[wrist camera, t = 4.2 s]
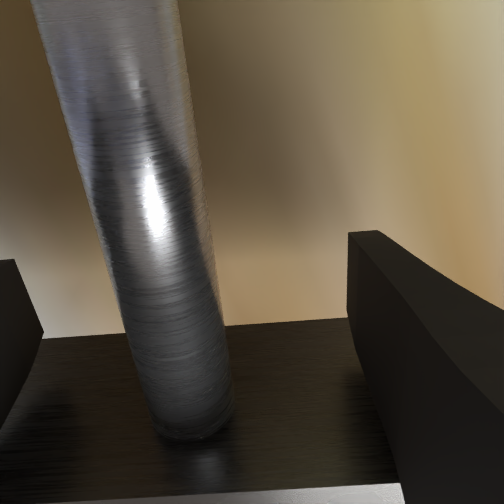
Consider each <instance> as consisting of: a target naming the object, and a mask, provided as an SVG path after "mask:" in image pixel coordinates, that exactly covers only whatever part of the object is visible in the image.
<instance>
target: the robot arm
mask: <svg viewBox="0 0 504 504" xmlns="http://www.w3.org/2000/svg"><path fill="white" fill-rule="evenodd" d="M347 314H348V319H349V324H350V329H351V333H352V338H353V342H354V346H355V350H356V353H357V356H358V359H359V362H360V364H361V367H362V370H363V373H364V376H365V379H366V381H367V384H368V387H369V390H370V392H371V395H372V398H373V401H374V403H375V406H376V409H377V412H378V414H379V417H380V420H381V423H382V426H383V428H384V431H385V434H386V437H387V439H388V442H389V446H390V449H391V452H392V455H393V458H394V462H395V465H396V469H397V473H398V477H399V481H400V485H401V489H402V493H403V497H404V501H405V504H504V310H502V309H500V308H499V307H497V306H495V305H493V304H491V303H489V302H487V301H486V300H484V299H482V298H480V297H479V296H477V295H475V294H474V293H472V292H470V291H468V290H467V289H465V288H463V287H462V286H460V285H458V284H457V283H455V282H453V281H452V280H450V279H449V278H447V277H445V276H444V275H442V274H441V273H439V272H438V271H436V270H435V269H433V268H432V267H430V266H429V265H427V264H426V263H424V262H423V261H421V260H420V259H419V258H417V257H416V256H414V255H413V254H411V253H410V252H409V251H407V250H406V249H404V248H403V247H402V246H400V245H399V244H397V243H396V242H395V241H393V240H392V239H390V238H389V237H387V236H386V235H384V234H383V233H381V232H380V231H378V230H372V231H359V232H348V268H347ZM43 333H44V331H43V328H42V326H41V324H40V321H39V319H38V316H37V314H36V311H35V309H34V306H33V304H32V302H31V299H30V297H29V294H28V292H27V289H26V287H25V284H24V282H23V280H22V277H21V275H20V272H19V270H18V267H17V265H16V262H15V260H14V259H7V260H0V430H1V428H2V426H3V424H4V422H5V420H6V418H7V416H8V415H9V413H10V411H11V409H12V407H13V405H14V403H15V401H16V399H17V397H18V395H19V393H20V391H21V389H22V387H23V386H24V384H25V382H26V380H27V378H28V376H29V373H30V371H31V369H32V366H33V363H34V360H35V358H36V355H37V352H38V349H39V346H40V343H41V339H42V336H43Z"/></svg>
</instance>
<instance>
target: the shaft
mask: <svg viewBox="0 0 504 504" xmlns="http://www.w3.org/2000/svg"><path fill="white" fill-rule="evenodd" d="M30 2H31V6H32V9H33V13H34V16H35V20H36V23H37V26H38V30H39V33H40V37H41V40H42V44H43V47H44V51H45V54H46V58H47V61H48V65H49V68H50V72H51V75H52V79H53V82H54V85H55V89H56V92H57V96H58V99H59V103H60V106H61V110H62V113H63V117H64V120H65V124H66V127H67V131H68V134H69V138H70V141H71V144H72V148H73V151H74V155H75V158H76V162H77V165H78V169H79V172H80V176H81V179H82V183H83V186H84V190H85V193H86V197H87V200H88V203H89V207H90V210H91V214H92V217H93V221H94V224H95V228H96V231H97V235H98V238H99V242H100V245H101V249H102V252H103V255H104V259H105V262H106V266H107V269H108V273H109V276H110V280H111V283H112V287H113V290H114V294H115V297H116V301H117V304H118V308H119V311H120V314H121V318H122V321H123V325H124V328H125V332H126V333H119V334H105V335H90V336H76V337H62V338H48V339H41V343H40V346H39V349H38V352H37V355H36V358H35V360H34V363H33V366H32V369H31V371H30V373H29V376H28V378H27V380H26V382H25V384H24V386H23V387H22V389H21V391H20V393H19V395H18V397H17V399H16V401H15V403H14V405H13V407H12V409H11V411H10V413H9V415H8V416H7V418H6V420H5V422H4V424H3V426H2V428H1V430H0V504H405V501H404V497H403V493H402V489H401V485H400V481H399V477H398V473H397V469H396V465H395V462H394V458H393V455H392V452H391V449H390V446H389V442H388V439H387V437H386V434H385V431H384V428H383V426H382V423H381V420H380V417H379V414H378V412H377V409H376V406H375V403H374V401H373V398H372V395H371V392H370V390H369V387H368V384H367V381H366V379H365V376H364V373H363V370H362V367H361V364H360V362H359V359H358V356H357V353H356V350H355V346H354V342H353V338H352V333H351V329H350V324H349V319H348V317H347V318H333V319H319V320H304V321H290V322H276V323H262V324H247V325H233V326H225V325H224V319H223V312H222V305H221V298H220V291H219V284H218V277H217V270H216V263H215V257H214V250H213V243H212V236H211V229H210V222H209V215H208V208H207V201H206V195H205V188H204V181H203V174H202V167H201V160H200V153H199V146H198V139H197V133H196V126H195V119H194V112H193V105H192V98H191V91H190V84H189V77H188V70H187V64H186V57H185V50H184V43H183V36H182V29H181V22H180V15H179V8H178V2H177V0H30Z"/></svg>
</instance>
